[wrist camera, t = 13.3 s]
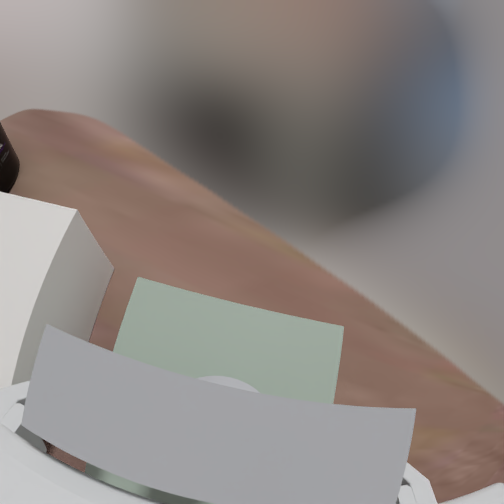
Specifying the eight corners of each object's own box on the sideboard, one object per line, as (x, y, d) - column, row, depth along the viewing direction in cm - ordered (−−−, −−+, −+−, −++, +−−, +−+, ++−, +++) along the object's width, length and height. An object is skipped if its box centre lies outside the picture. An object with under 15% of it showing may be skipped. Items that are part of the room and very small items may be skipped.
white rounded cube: (-24, 349, 14) (-84, 322, 8) (18, 237, 19) (-25, 185, 12) (71, 407, 14) (7, 405, 8) (114, 268, 19) (77, 209, 13)
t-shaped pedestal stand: (101, 463, 13) (-35, 522, 2) (147, 292, 18) (73, 144, 7) (292, 508, 13) (397, 615, 2) (327, 335, 18) (465, 242, 7)
